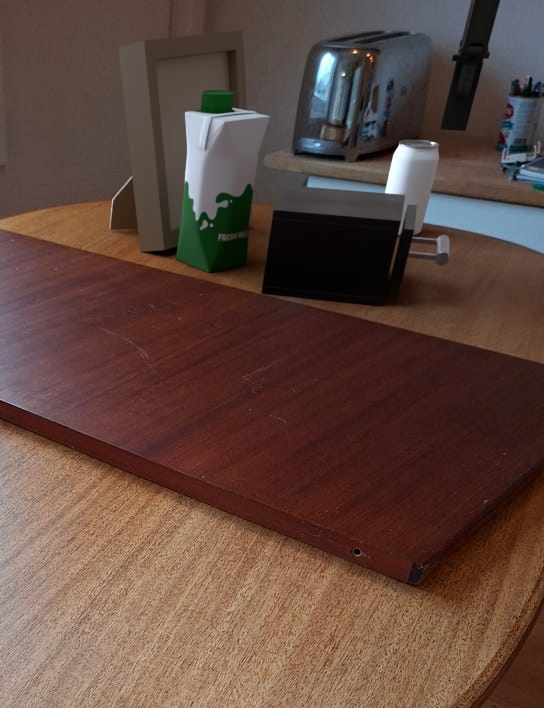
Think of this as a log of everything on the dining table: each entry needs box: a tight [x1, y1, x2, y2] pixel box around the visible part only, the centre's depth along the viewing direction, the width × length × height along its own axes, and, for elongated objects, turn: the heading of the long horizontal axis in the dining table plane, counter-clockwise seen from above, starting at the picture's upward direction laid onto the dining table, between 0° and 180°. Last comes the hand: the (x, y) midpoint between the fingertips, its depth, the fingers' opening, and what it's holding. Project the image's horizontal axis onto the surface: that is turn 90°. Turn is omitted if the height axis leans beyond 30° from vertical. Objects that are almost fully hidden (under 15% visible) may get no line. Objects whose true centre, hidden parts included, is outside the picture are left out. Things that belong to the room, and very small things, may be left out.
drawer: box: [387, 204, 451, 299], centre depth 111 cm, size 18×13×8 cm
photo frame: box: [108, 29, 253, 253], centre depth 126 cm, size 15×22×25 cm
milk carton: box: [175, 90, 271, 273], centre depth 115 cm, size 9×9×20 cm
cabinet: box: [260, 185, 405, 307], centre depth 112 cm, size 15×14×10 cm
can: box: [384, 139, 440, 237], centre depth 131 cm, size 6×6×12 cm
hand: (453, 127), depth 100 cm, fingers closed
